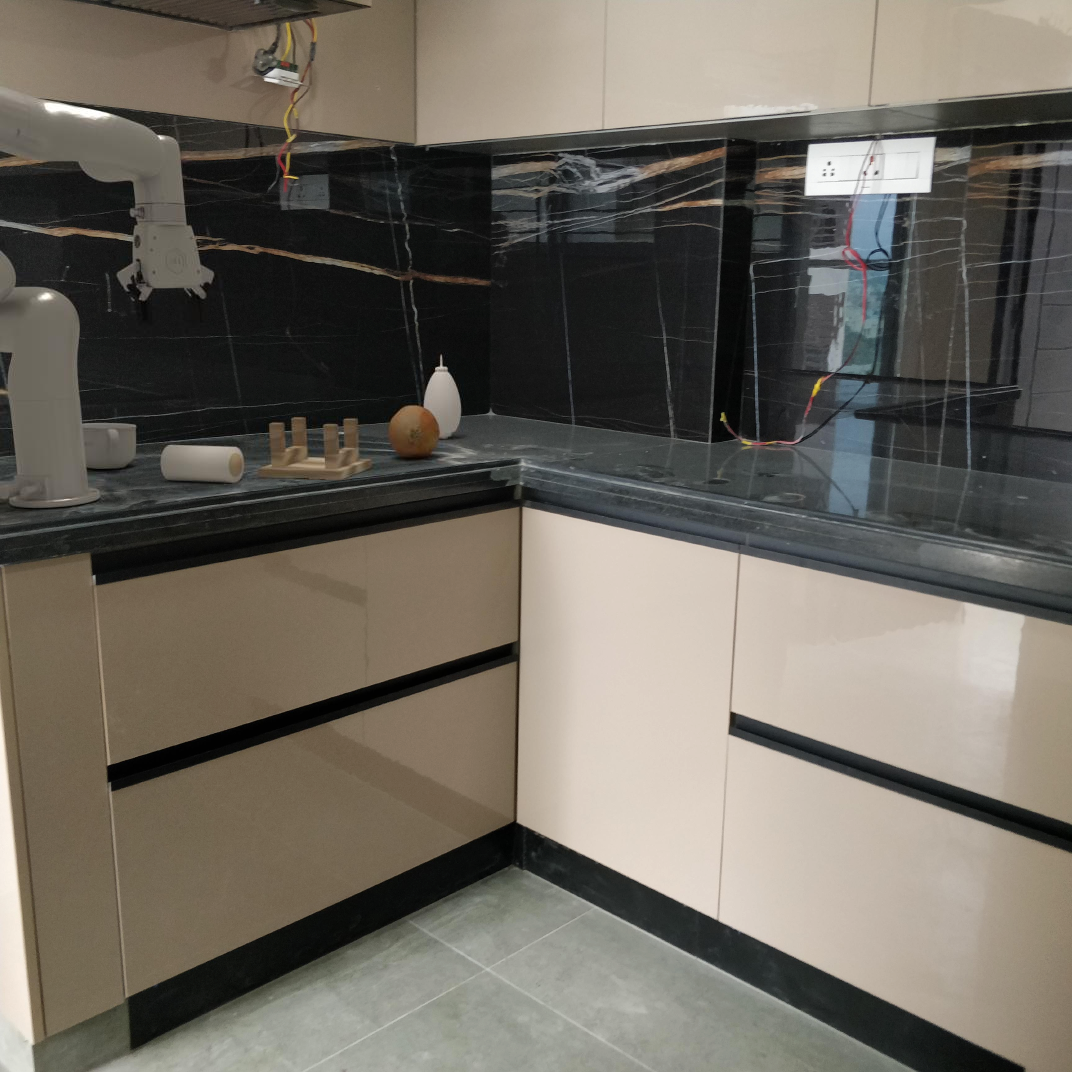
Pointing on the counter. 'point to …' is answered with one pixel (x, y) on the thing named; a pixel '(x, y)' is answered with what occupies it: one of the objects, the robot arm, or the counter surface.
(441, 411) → the sauce bottle
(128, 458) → the teacup
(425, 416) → the orange
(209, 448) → the towel roll
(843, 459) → the counter surface
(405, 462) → the counter surface
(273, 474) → the roll holder
